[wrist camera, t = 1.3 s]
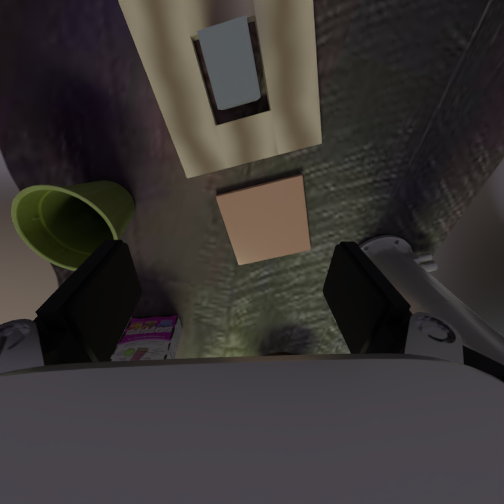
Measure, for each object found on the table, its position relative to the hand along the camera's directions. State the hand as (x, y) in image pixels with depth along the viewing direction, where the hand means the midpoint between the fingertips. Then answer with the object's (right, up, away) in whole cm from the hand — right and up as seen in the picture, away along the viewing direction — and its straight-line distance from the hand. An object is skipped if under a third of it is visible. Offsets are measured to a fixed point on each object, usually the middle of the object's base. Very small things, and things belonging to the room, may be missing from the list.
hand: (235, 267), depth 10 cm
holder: (-1, +23, +18) cm, 29 cm away
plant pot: (-22, +9, +27) cm, 36 cm away
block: (-1, +23, +18) cm, 29 cm away
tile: (+3, +6, +29) cm, 30 cm away
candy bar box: (-21, -16, +42) cm, 50 cm away
